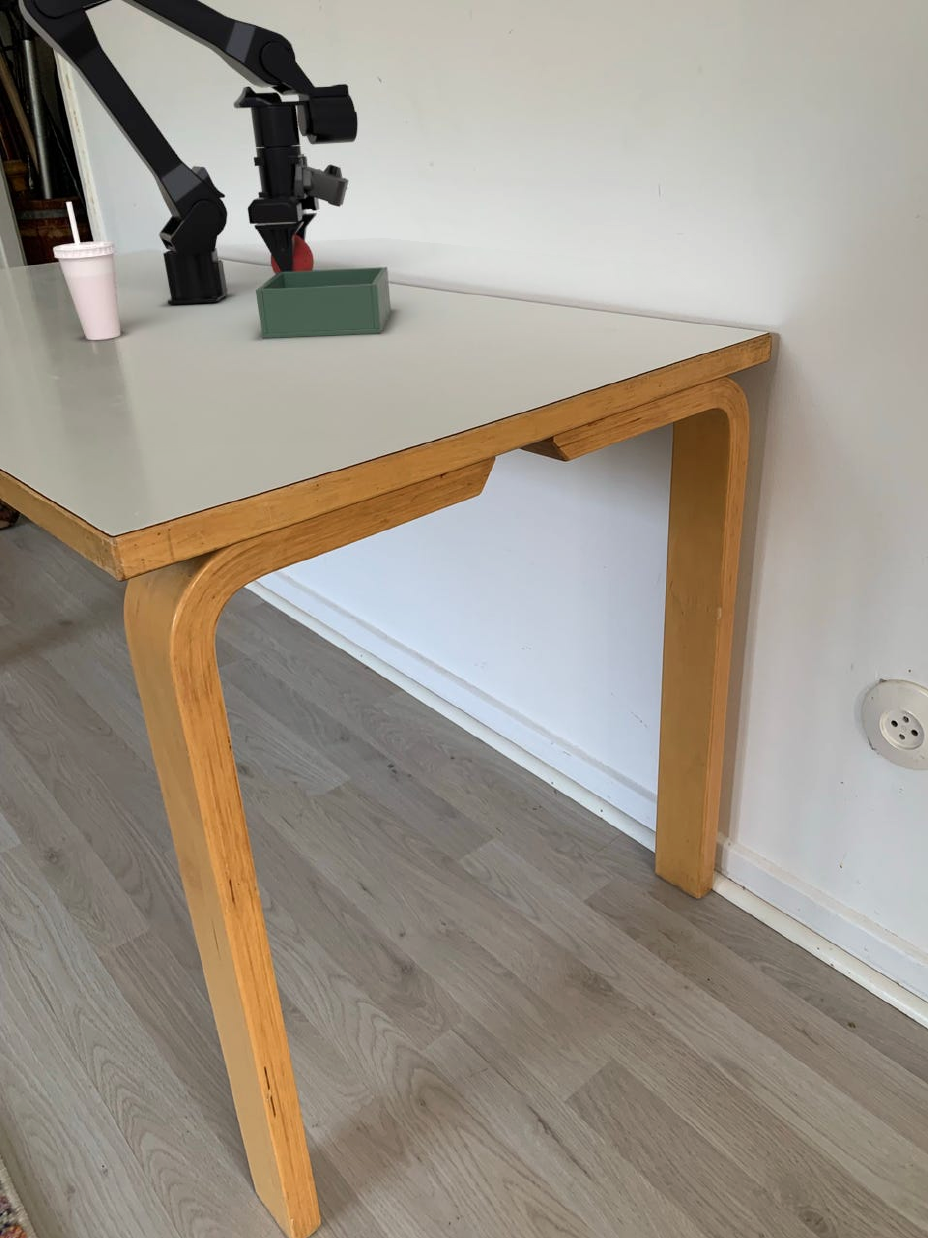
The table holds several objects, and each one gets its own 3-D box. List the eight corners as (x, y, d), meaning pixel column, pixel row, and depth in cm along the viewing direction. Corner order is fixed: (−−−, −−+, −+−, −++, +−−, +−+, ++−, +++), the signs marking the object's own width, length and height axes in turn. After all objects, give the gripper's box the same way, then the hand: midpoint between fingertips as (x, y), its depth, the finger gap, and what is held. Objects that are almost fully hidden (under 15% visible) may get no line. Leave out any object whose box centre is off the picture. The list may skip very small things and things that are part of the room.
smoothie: (70, 335, 109) (39, 202, 102) (127, 327, 111) (100, 197, 105) (77, 344, 104) (45, 205, 97) (137, 336, 106) (110, 200, 100)
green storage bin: (262, 338, 103) (255, 289, 100) (284, 315, 114) (278, 271, 112) (380, 333, 102) (376, 284, 100) (390, 311, 113) (387, 266, 111)
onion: (318, 290, 130) (311, 227, 126) (275, 293, 129) (267, 230, 125) (314, 284, 135) (307, 223, 131) (273, 287, 134) (265, 226, 130)
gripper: (329, 145, 115) (343, 281, 122) (348, 141, 131) (359, 261, 139) (238, 150, 115) (257, 285, 123) (268, 145, 132) (283, 264, 139)
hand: (293, 273), depth 131 cm, fingers open, 7 cm apart
